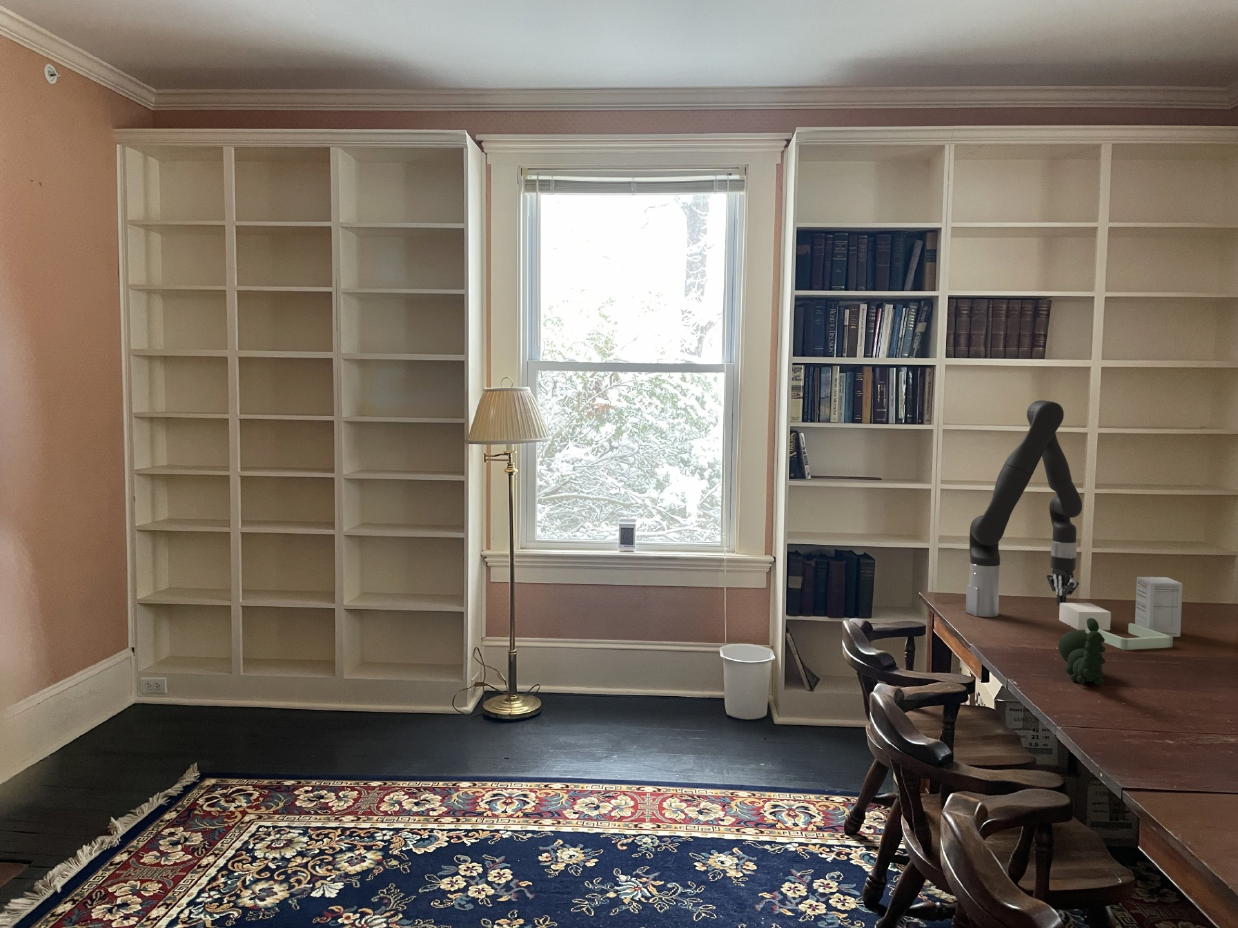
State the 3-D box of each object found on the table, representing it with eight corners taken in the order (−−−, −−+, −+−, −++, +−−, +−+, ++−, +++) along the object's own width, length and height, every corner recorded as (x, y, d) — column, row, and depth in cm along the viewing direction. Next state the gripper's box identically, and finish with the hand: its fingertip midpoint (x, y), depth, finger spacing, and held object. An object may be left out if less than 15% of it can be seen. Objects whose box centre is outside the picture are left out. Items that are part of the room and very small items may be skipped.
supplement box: (1165, 629, 270) (1168, 576, 269) (1181, 637, 261) (1184, 583, 260) (1133, 628, 271) (1136, 576, 270) (1148, 636, 262) (1151, 582, 261)
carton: (1078, 630, 269) (1078, 611, 269) (1059, 620, 281) (1059, 602, 281) (1109, 630, 269) (1110, 612, 268) (1089, 621, 281) (1090, 603, 280)
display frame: (1123, 649, 248) (1124, 639, 248) (1085, 635, 263) (1085, 625, 263) (1172, 646, 251) (1173, 636, 251) (1131, 632, 266) (1132, 623, 266)
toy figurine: (1113, 700, 211) (1089, 661, 235) (1119, 627, 208) (1094, 595, 231) (1071, 696, 214) (1051, 658, 237) (1076, 624, 210) (1055, 593, 234)
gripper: (1040, 551, 290) (1038, 601, 291) (1067, 558, 277) (1065, 611, 278) (1059, 550, 291) (1057, 600, 293) (1087, 558, 278) (1085, 610, 280)
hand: (1061, 605), depth 285 cm, fingers closed
